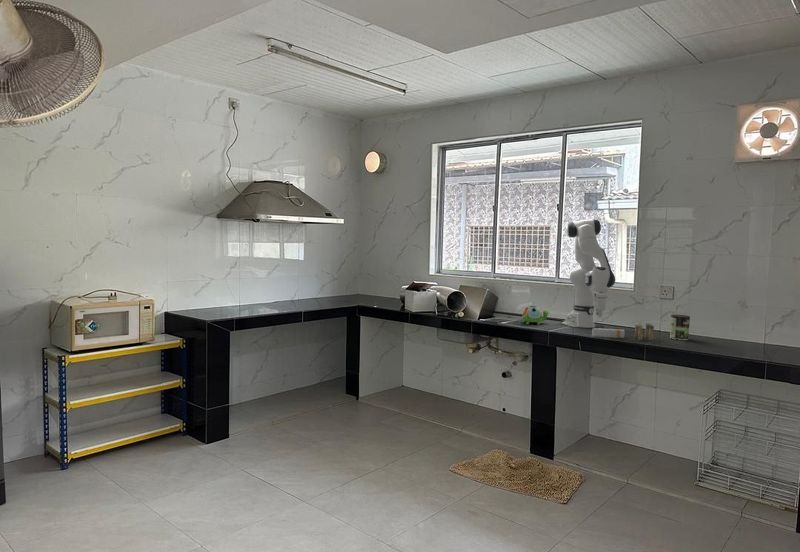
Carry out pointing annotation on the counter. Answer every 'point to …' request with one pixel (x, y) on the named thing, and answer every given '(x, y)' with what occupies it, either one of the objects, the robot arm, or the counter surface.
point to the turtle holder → (534, 315)
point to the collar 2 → (649, 331)
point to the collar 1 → (639, 331)
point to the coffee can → (679, 327)
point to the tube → (608, 333)
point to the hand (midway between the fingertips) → (598, 316)
